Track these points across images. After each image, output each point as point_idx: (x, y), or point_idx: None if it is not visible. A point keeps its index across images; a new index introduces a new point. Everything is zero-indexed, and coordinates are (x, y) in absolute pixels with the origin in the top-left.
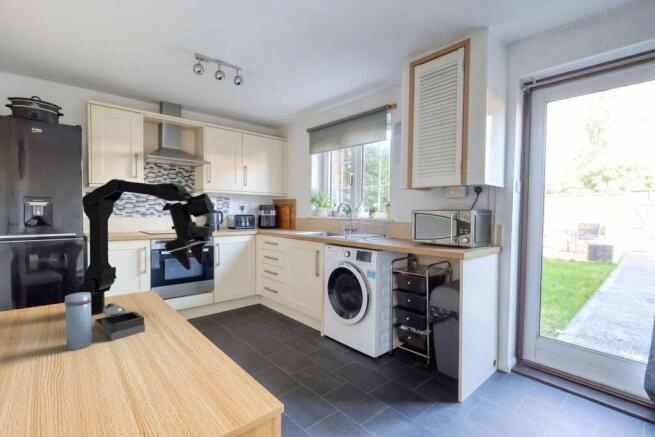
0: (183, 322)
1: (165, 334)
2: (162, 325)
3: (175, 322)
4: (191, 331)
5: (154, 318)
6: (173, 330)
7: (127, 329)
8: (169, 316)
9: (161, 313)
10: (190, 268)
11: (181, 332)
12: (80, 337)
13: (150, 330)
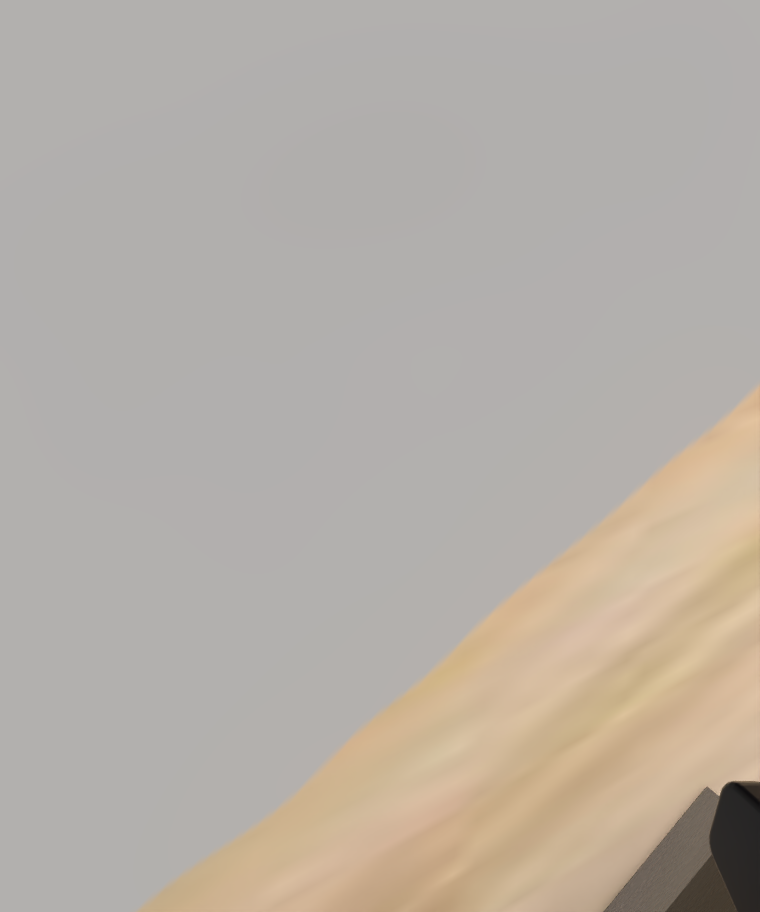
0: (537, 581)
1: (752, 611)
2: (590, 719)
3: (534, 646)
4: (713, 445)
5: (435, 870)
6: (688, 587)
7: None
8: (394, 766)
9: (312, 879)
10: (748, 786)
11: (726, 511)
12: None
13: (678, 758)
